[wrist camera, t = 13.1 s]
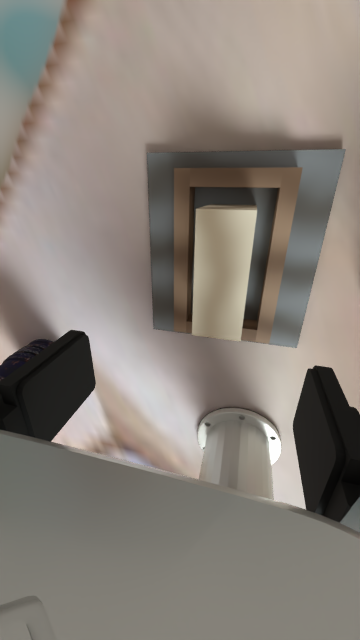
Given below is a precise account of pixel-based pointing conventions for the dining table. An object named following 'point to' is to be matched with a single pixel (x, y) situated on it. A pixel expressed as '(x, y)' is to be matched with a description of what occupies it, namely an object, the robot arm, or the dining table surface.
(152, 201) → the slot board
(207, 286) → the ash block
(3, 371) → the storage jar
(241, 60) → the dining table surface
